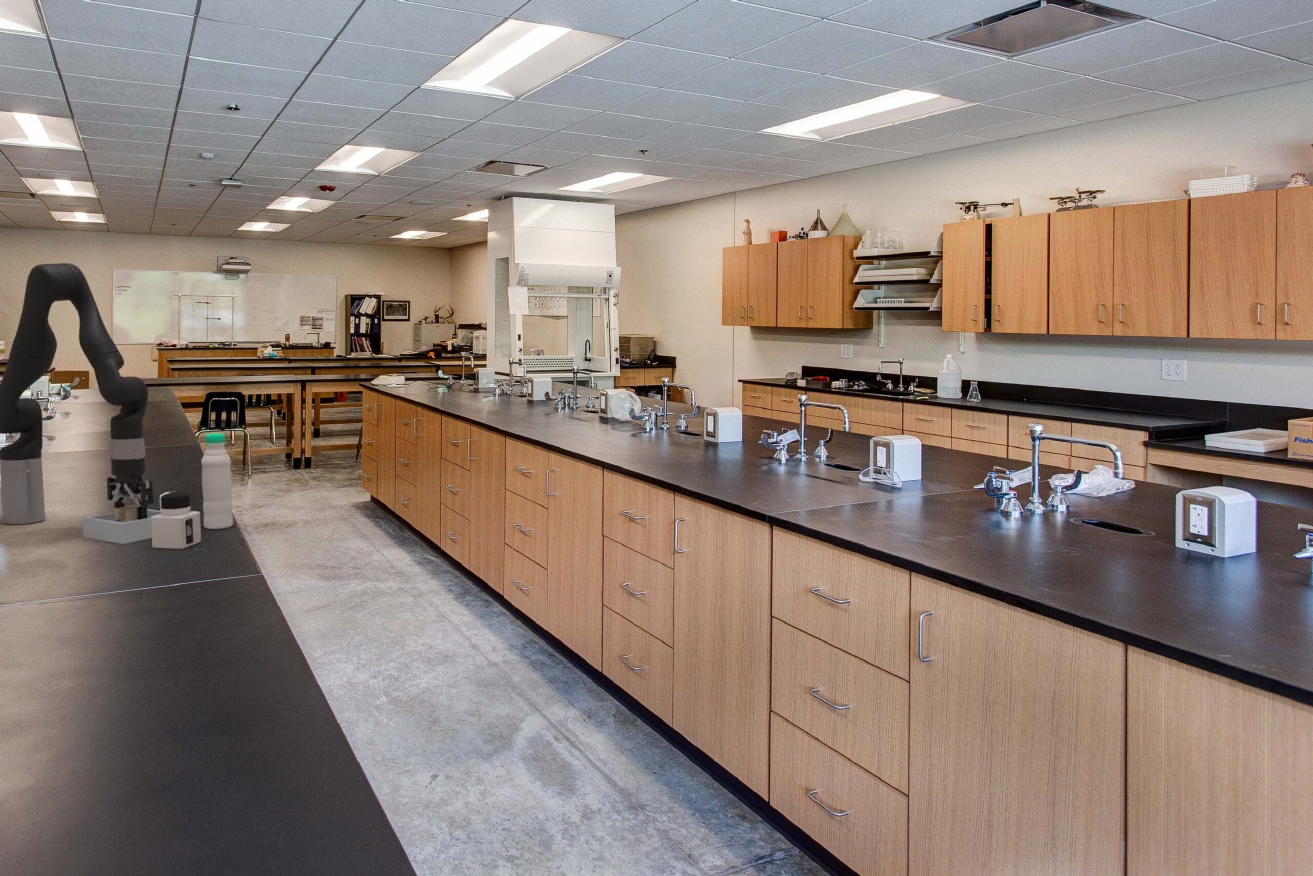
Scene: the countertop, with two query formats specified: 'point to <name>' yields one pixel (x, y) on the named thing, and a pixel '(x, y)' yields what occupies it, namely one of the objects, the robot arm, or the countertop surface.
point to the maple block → (126, 514)
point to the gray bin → (118, 528)
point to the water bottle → (216, 483)
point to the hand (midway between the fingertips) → (131, 519)
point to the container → (175, 522)
